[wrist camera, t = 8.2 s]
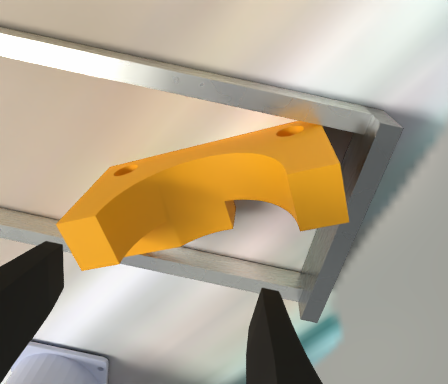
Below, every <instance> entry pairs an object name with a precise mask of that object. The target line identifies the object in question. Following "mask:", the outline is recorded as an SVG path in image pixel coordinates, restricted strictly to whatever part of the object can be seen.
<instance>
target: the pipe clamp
mask: <svg viewBox="0 0 448 384" xmlns="http://www.w3.org/2000/svg"><path fill="white" fill-rule="evenodd" d="M233 200H259V201H265V202H269V203H272V204H275V205H278V206H280V207H282V208H283V209H285V210H286V211H288V212H289V213H290V214H291V215H292V216H293V217H294V218H295V220H296V221H297V223H298V226H299V229H300V231H304V230H310V229H315V228H321V227H326V226H332V225H337V224H343V223H348V222H349V216H348V210H347V204H346V197H345V191H344V185H343V179H342V172H341V166H340V162H339V160H338V158H337V156H336V154H335V152H334V150H333V148H332V145H331V143H330V141H329V139H328V137H327V135H326V133H325V131H324V129H323V127H322V125H317V124H312V123H308V122H303V121H295V122H291V123H287V124H283V125H279V126H275V127H271V128H267V129H263V130H259V131H254V132H250V133H246V134H242V135H238V136H234V137H230V138H226V139H222V140H218V141H214V142H210V143H206V144H202V145H197V146H193V147H189V148H185V149H181V150H177V151H173V152H169V153H165V154H161V155H157V156H153V157H149V158H144V159H140V160H136V161H132V162H128V163H124V164H120V165H116V166H112V167H109V169H108V170H107V171H106V172H105V173H104V174H103V175H102V176H101V177H100V178H99V179H98V180H97V181H96V182H95V183H94V184H93V185H92V187H91V188H90V189H89V190H88V191H87V192H86V193H85V194H84V195H83V196H82V197H81V198H80V199H79V200H78V201H77V202H76V203H75V204H74V206H73V207H72V208H71V209H70V210H69V211H68V212H67V213H66V214H65V215H64V216H63V217H62V218H61V219H60V220H59V221H58V222H57V224H56V226H57V228H58V229H59V231H60V233H61V235H62V237H63V238H64V240H65V242H66V244H67V245H68V247H69V249H70V251H71V252H72V254H73V256H74V258H75V260H76V261H77V263H78V265H79V267H80V268H81V270H82V271H84V270H90V269H95V268H101V267H106V266H112V265H117V264H120V263H121V261H122V259H123V258H124V257H128V256H133V255H139V254H144V253H150V252H155V251H160V250H166V249H171V248H177V247H181V246H182V245H184V244H186V243H188V242H190V241H193V240H195V239H197V238H200V237H202V236H205V235H208V234H211V233H215V232H219V231H223V230H229V229H233V226H234V219H235V211H236V207H235V204H234V201H233Z"/></svg>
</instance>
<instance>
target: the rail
mask: <svg viewBox="0 0 448 384" xmlns="http://www.w3.org/2000/svg"><path fill="white" fill-rule="evenodd" d="M0 56H4V57H9V58H14V59H18V60H23V61H27V62H32V63H37V64H41V65H46V66H50V67H55V68H60V69H64V70H69V71H73V72H78V73H83V74H87V75H92V76H96V77H101V78H106V79H110V80H115V81H119V82H124V83H129V84H133V85H138V86H142V87H147V88H152V89H156V90H161V91H165V92H170V93H175V94H179V95H184V96H188V97H193V98H198V99H202V100H207V101H211V102H216V103H221V104H225V105H230V106H234V107H239V108H244V109H248V110H253V111H257V112H262V113H267V114H271V115H276V116H280V117H285V118H290V119H294V120H299V121H303V122H308V123H312V124H317V125H322V126H326V127H331V128H335V129H340V130H345V131H349V132H354V133H353V136H352V138H351V141H350V144H349V146H348V149H347V151H346V154H345V157H344V159H343V162H342V165H341V172H342V179H343V185H344V191H345V197H346V204H347V210H348V216H349V222H348V223H343V224H337V225H332V226H326V227H321V228H317V231H316V234H315V236H314V239H313V241H312V244H311V247H310V249H309V252H308V255H307V257H306V260H305V263H304V265H303V268H302V271H301V273H300V272H295V271H291V270H286V269H281V268H277V267H272V266H267V265H263V264H258V263H254V262H249V261H244V260H240V259H235V258H230V257H226V256H221V255H216V254H212V253H207V252H203V251H198V250H193V249H189V248H184V247H177V248H171V249H166V250H160V251H155V252H150V253H144V254H139V255H133V256H128V257H124V258H123V259H122V261H121V263H120V264H125V265H129V266H134V267H139V268H143V269H148V270H153V271H157V272H162V273H166V274H171V275H176V276H180V277H185V278H190V279H194V280H199V281H204V282H208V283H213V284H218V285H222V286H227V287H231V288H236V289H241V290H245V291H250V292H255V293H259V294H260V291H261V288H267V289H271V290H276V291H279V292H280V294H281V297H282V299H287V300H292V301H296V302H298V303H299V311H300V319H301V320H306V321H311V322H315V323H317V322H318V320H319V318H320V316H321V313H322V311H323V309H324V307H325V304H326V302H327V300H328V298H329V295H330V293H331V291H332V289H333V286H334V284H335V282H336V279H337V277H338V275H339V273H340V270H341V268H342V266H343V264H344V261H345V259H346V257H347V255H348V252H349V250H350V248H351V246H352V243H353V241H354V239H355V237H356V234H357V232H358V230H359V228H360V225H361V223H362V221H363V219H364V216H365V214H366V212H367V210H368V207H369V205H370V203H371V201H372V198H373V196H374V194H375V192H376V189H377V187H378V185H379V182H380V180H381V178H382V176H383V173H384V171H385V169H386V167H387V164H388V162H389V160H390V158H391V155H392V153H393V151H394V149H395V146H396V144H397V142H398V140H399V137H400V135H401V133H402V131H403V127H402V126H401V125H399V124H398V123H397V122H396V121H395V120H394V119H393V118H391V117H390V116H389V115H388V114H387V113H386V112H385V111H384V110H380V109H375V108H371V107H366V106H362V105H357V104H352V103H348V102H343V101H339V100H334V99H329V98H325V97H320V96H316V95H311V94H307V93H302V92H297V91H293V90H288V89H284V88H279V87H274V86H270V85H265V84H261V83H256V82H251V81H247V80H242V79H238V78H233V77H228V76H224V75H219V74H215V73H210V72H205V71H201V70H196V69H192V68H187V67H183V66H178V65H173V64H169V63H164V62H160V61H155V60H150V59H146V58H141V57H137V56H132V55H127V54H123V53H118V52H114V51H109V50H104V49H100V48H95V47H91V46H86V45H81V44H77V43H72V42H68V41H63V40H59V39H54V38H49V37H45V36H40V35H36V34H31V33H26V32H22V31H17V30H13V29H8V28H3V27H0ZM58 221H59V220H54V219H50V218H45V217H40V216H36V215H31V214H27V213H22V212H17V211H13V210H8V209H3V208H0V238H4V239H9V240H13V241H18V242H23V243H27V244H32V245H37V246H38V245H39V244H41V243H43V242H45V241H49V242H54V243H58V244H63V251H64V252H69V253H72V252H71V251H70V249H69V247H68V245H67V244H66V242H65V240H64V238H63V237H62V235H61V233H60V231H59V229H58V228H57V226H56V224H57V222H58Z"/></svg>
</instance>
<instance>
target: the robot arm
mask: <svg viewBox="0 0 448 384" xmlns="http://www.w3.org/2000/svg"><path fill="white" fill-rule="evenodd" d="M63 288H64V273H63V244H58V243H54V242H49V241H45V242H43V243H41V244H39V245H38V246H36V247H34V248H32V249H31V250H29V251H27V252H25V253H24V254H22V255H20V256H18V257H17V258H15V259H13V260H11V261H10V262H8V263H6V264H4V265H2V266H1V267H0V384H1V382H2V381H3V379H4V377H5V376H6V374H7V373H8V371H9V370H10V369H11V372H12V374H11V375H10V376H9V378H8V379H7V381H6V382H5V384H107V381H108V365H109V362H108V360H107V359H106V358H105V357H101V356H97V355H92V354H87V353H83V352H78V351H73V350H69V349H64V348H59V347H55V346H50V345H45V344H41V343H36V342H31V339H32V338H33V337H34V335H35V334H36V332H37V331H38V330H39V328H40V327H41V325H42V324H43V323H44V321H45V320H46V318H47V317H48V315H49V314H50V312H51V311H52V309H53V307H54V305H55V303H56V302H57V300H58V298H59V296H60V294H61V292H62V290H63ZM246 384H323V383H322V382H321V380H320V378H319V377H318V375H317V373H316V371H315V370H314V368H313V366H312V364H311V362H310V360H309V359H308V357H307V355H306V353H305V351H304V349H303V347H302V345H301V343H300V340H299V338H298V336H297V334H296V332H295V330H294V327H293V325H292V323H291V320H290V318H289V315H288V313H287V310H286V308H285V305H284V302H283V300H282V297H281V294H280V292H279V291H276V290H271V289H267V288H261V291H260V294H259V298H258V301H257V304H256V307H255V310H254V313H253V316H252V319H251V322H250V326H249V331H248V341H247V352H246Z"/></svg>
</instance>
